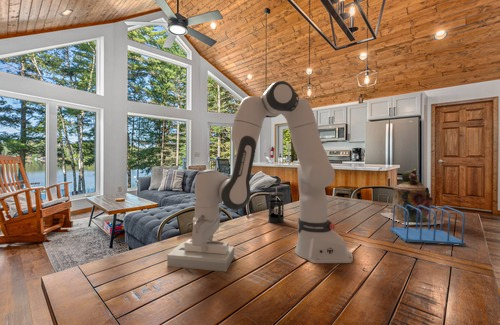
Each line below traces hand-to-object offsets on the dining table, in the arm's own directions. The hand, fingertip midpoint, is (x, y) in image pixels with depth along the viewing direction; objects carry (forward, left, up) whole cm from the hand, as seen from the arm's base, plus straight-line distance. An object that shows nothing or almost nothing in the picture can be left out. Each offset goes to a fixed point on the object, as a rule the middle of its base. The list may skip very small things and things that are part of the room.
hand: (206, 248), depth 92 cm
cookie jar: (-104, -77, -5) cm, 129 cm away
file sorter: (-96, -44, -5) cm, 106 cm away
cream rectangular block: (0, 0, -3) cm, 3 cm away
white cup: (+11, -22, -5) cm, 26 cm away
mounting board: (+2, 0, -5) cm, 5 cm away
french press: (-22, -58, -5) cm, 63 cm away
